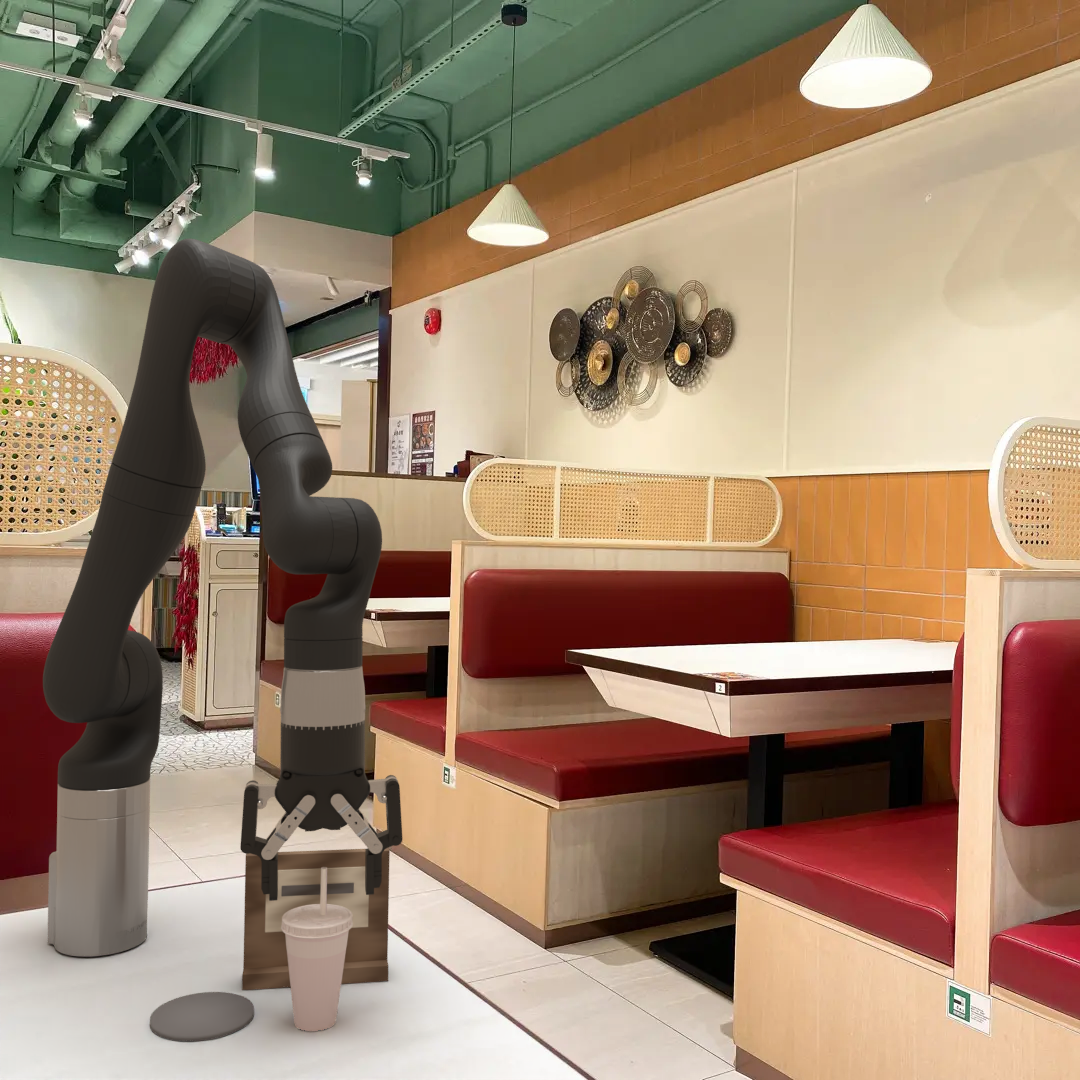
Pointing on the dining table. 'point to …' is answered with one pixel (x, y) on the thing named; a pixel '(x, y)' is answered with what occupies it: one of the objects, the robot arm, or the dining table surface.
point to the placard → (304, 888)
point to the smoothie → (316, 959)
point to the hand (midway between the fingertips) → (322, 895)
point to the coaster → (202, 1016)
